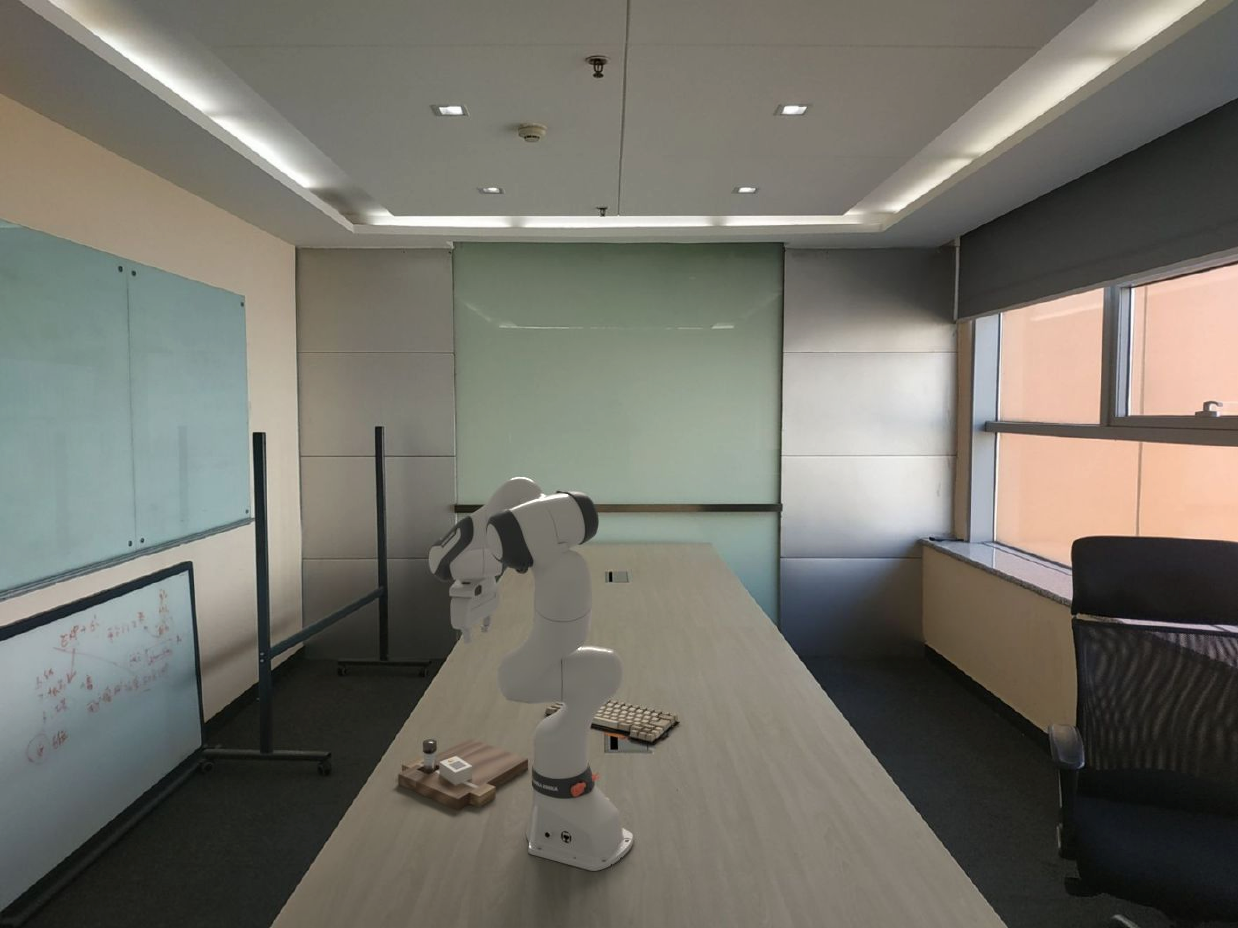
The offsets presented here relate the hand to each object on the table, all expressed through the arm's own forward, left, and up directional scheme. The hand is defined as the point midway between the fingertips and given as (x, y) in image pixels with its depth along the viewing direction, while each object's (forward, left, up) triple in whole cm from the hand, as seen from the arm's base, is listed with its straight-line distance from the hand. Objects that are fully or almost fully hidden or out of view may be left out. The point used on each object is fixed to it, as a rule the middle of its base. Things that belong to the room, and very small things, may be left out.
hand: (477, 637), depth 182 cm
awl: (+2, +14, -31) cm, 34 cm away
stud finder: (-6, +13, -29) cm, 32 cm away
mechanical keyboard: (-14, -39, -32) cm, 52 cm away
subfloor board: (-4, +8, -31) cm, 32 cm away
